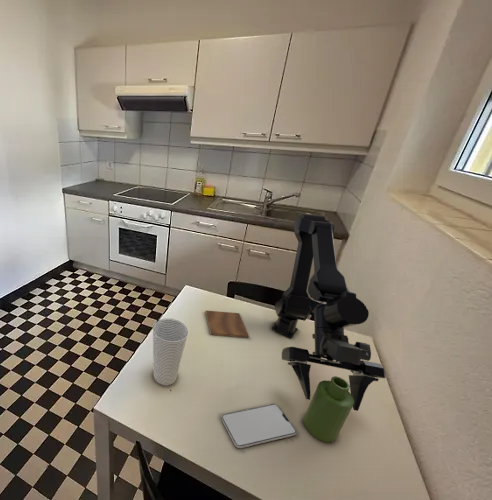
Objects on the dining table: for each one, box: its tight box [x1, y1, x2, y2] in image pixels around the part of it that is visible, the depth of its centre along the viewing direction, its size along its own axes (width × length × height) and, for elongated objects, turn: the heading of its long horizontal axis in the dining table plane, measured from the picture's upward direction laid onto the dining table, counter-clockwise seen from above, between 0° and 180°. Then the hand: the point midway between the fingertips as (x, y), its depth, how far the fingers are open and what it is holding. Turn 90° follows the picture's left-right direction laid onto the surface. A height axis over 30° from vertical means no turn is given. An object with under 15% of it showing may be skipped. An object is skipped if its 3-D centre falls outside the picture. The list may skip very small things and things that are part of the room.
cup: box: [152, 318, 189, 386], centre depth 70 cm, size 8×8×16 cm
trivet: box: [204, 310, 250, 339], centre depth 95 cm, size 12×12×1 cm
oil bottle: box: [303, 375, 354, 443], centre depth 60 cm, size 6×6×14 cm
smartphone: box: [220, 403, 298, 449], centre depth 62 cm, size 7×1×15 cm
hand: (331, 404), depth 59 cm, fingers open, 9 cm apart
